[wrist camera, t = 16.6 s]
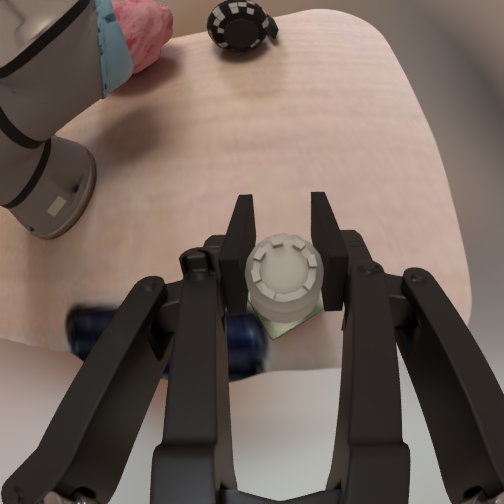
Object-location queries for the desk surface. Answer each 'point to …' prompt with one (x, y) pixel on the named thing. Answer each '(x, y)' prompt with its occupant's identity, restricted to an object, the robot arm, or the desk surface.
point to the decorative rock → (144, 29)
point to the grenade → (239, 25)
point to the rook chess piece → (284, 277)
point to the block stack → (281, 328)
